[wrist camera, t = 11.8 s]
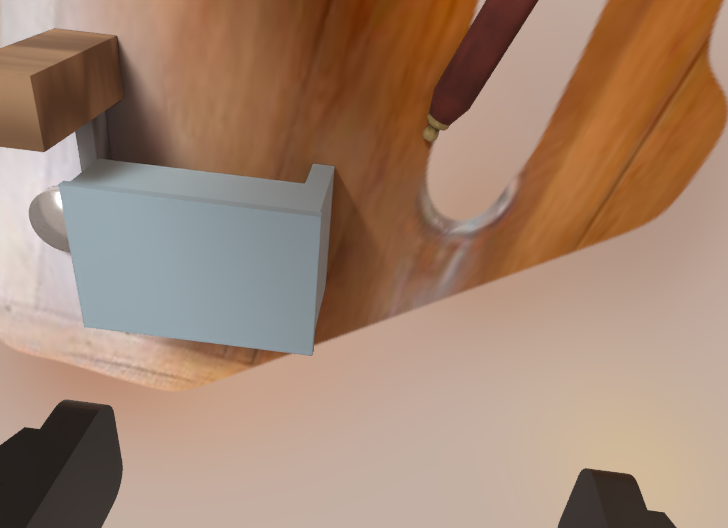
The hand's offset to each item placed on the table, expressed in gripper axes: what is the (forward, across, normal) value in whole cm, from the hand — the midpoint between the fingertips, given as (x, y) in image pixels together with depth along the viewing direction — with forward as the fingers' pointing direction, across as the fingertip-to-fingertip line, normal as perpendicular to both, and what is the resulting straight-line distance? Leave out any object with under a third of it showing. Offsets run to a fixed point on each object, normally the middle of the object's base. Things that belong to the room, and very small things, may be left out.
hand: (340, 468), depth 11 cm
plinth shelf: (+32, +11, +13) cm, 36 cm away
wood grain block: (+32, +20, +9) cm, 39 cm away
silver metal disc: (+32, +23, +15) cm, 42 cm away
